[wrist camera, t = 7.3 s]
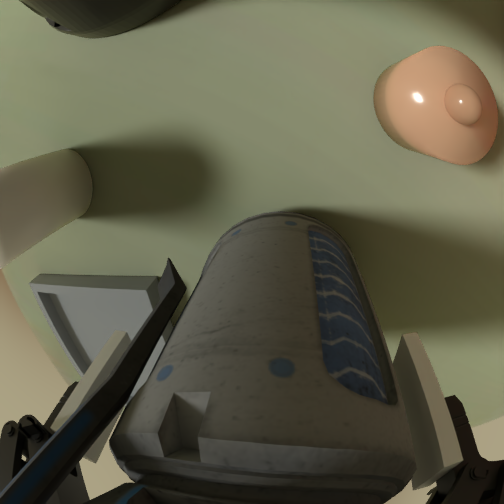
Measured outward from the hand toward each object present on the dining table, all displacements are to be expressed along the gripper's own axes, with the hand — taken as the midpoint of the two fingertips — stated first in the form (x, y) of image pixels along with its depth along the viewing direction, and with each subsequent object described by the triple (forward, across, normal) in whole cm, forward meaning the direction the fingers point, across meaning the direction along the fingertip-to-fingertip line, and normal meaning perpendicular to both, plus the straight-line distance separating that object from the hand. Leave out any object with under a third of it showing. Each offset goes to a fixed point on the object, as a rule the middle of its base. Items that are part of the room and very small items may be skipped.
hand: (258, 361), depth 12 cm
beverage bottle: (+8, 0, 0) cm, 9 cm away
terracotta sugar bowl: (+8, +10, +11) cm, 17 cm away
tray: (+8, -17, -10) cm, 21 cm away
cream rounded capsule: (+8, -16, +8) cm, 20 cm away
